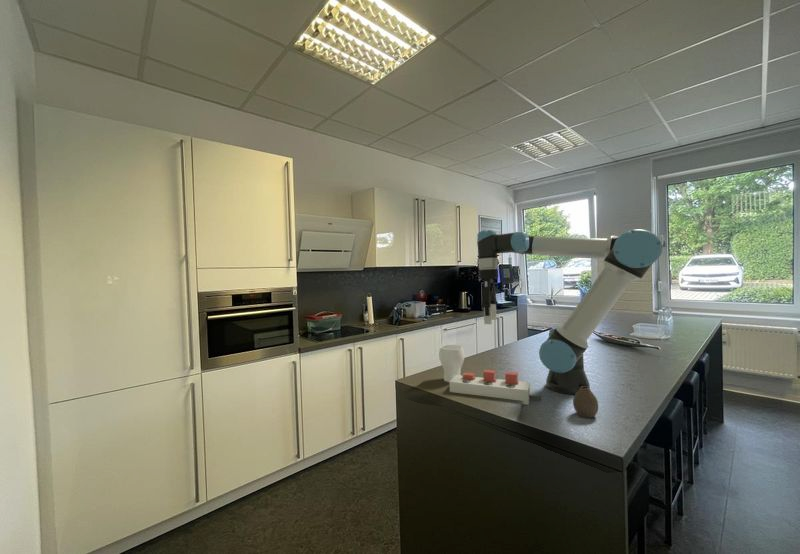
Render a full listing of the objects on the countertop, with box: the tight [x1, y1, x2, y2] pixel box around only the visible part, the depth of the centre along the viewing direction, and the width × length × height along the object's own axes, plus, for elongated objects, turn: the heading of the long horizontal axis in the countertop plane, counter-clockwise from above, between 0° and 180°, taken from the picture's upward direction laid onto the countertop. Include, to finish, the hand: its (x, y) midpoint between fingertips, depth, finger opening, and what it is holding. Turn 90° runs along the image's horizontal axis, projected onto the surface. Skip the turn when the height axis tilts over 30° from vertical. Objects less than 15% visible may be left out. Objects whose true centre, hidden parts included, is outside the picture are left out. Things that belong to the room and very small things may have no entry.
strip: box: [448, 374, 542, 405], centre depth 120 cm, size 32×9×5 cm, turn 65°
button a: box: [504, 371, 519, 385], centre depth 119 cm, size 4×3×4 cm
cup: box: [438, 344, 465, 383], centre depth 137 cm, size 11×11×15 cm
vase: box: [572, 386, 599, 419], centre depth 101 cm, size 7×7×9 cm
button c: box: [462, 372, 476, 380], centre depth 126 cm, size 4×3×4 cm
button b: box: [482, 369, 497, 382], centre depth 123 cm, size 4×3×4 cm
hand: (490, 321), depth 130 cm, fingers open, 12 cm apart
